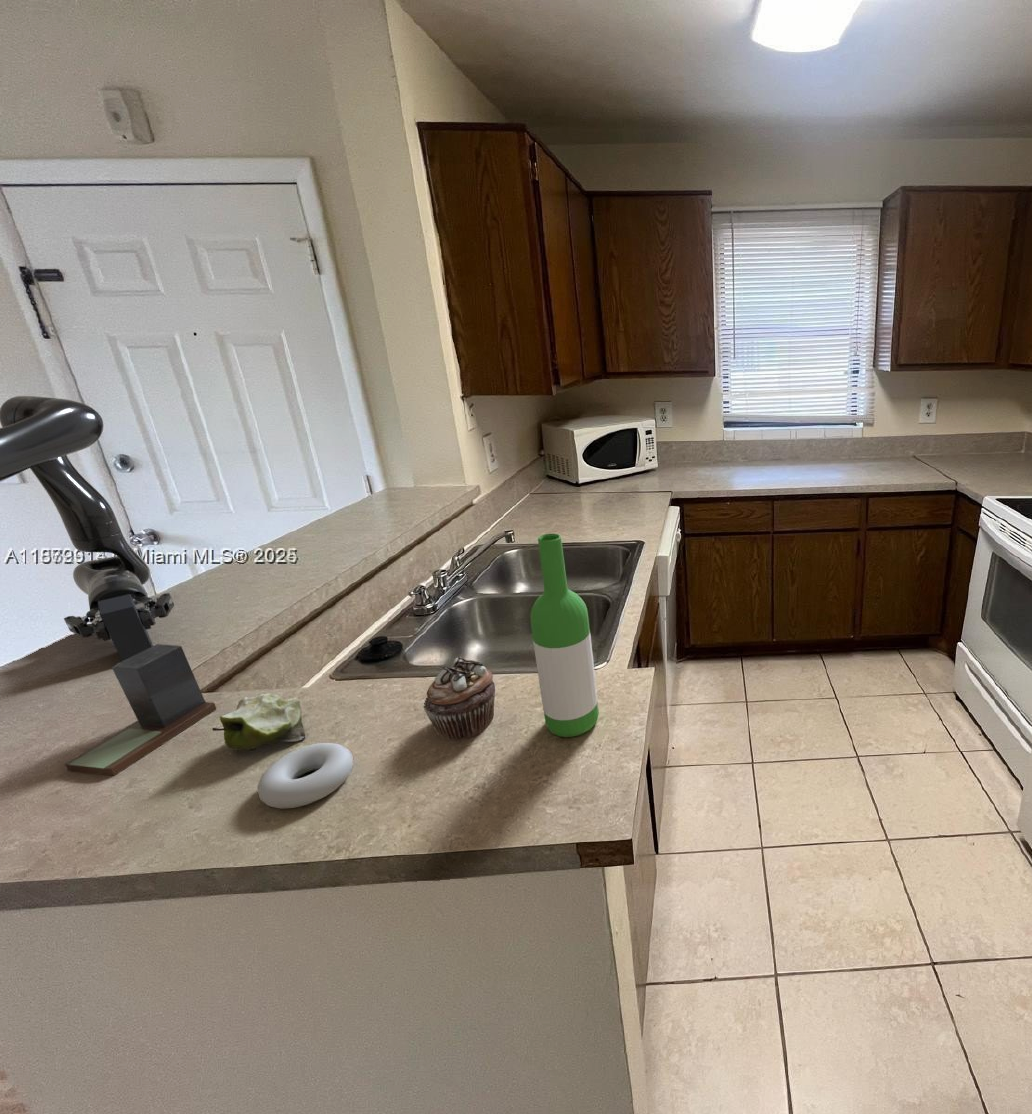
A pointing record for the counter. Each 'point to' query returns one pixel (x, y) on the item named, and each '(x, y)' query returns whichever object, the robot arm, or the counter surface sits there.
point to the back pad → (124, 625)
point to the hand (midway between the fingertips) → (126, 629)
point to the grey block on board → (148, 709)
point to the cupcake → (461, 700)
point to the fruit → (262, 722)
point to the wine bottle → (563, 648)
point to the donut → (290, 792)
